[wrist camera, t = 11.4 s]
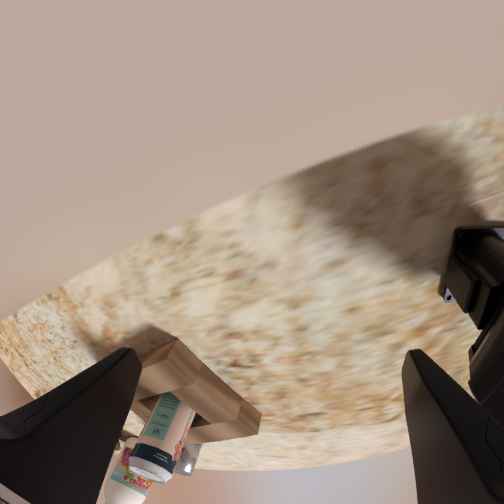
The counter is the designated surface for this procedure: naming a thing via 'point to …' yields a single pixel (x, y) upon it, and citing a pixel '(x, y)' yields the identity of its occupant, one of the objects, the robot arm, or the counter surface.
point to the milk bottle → (125, 480)
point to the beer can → (162, 439)
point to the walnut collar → (194, 395)
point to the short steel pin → (187, 459)
